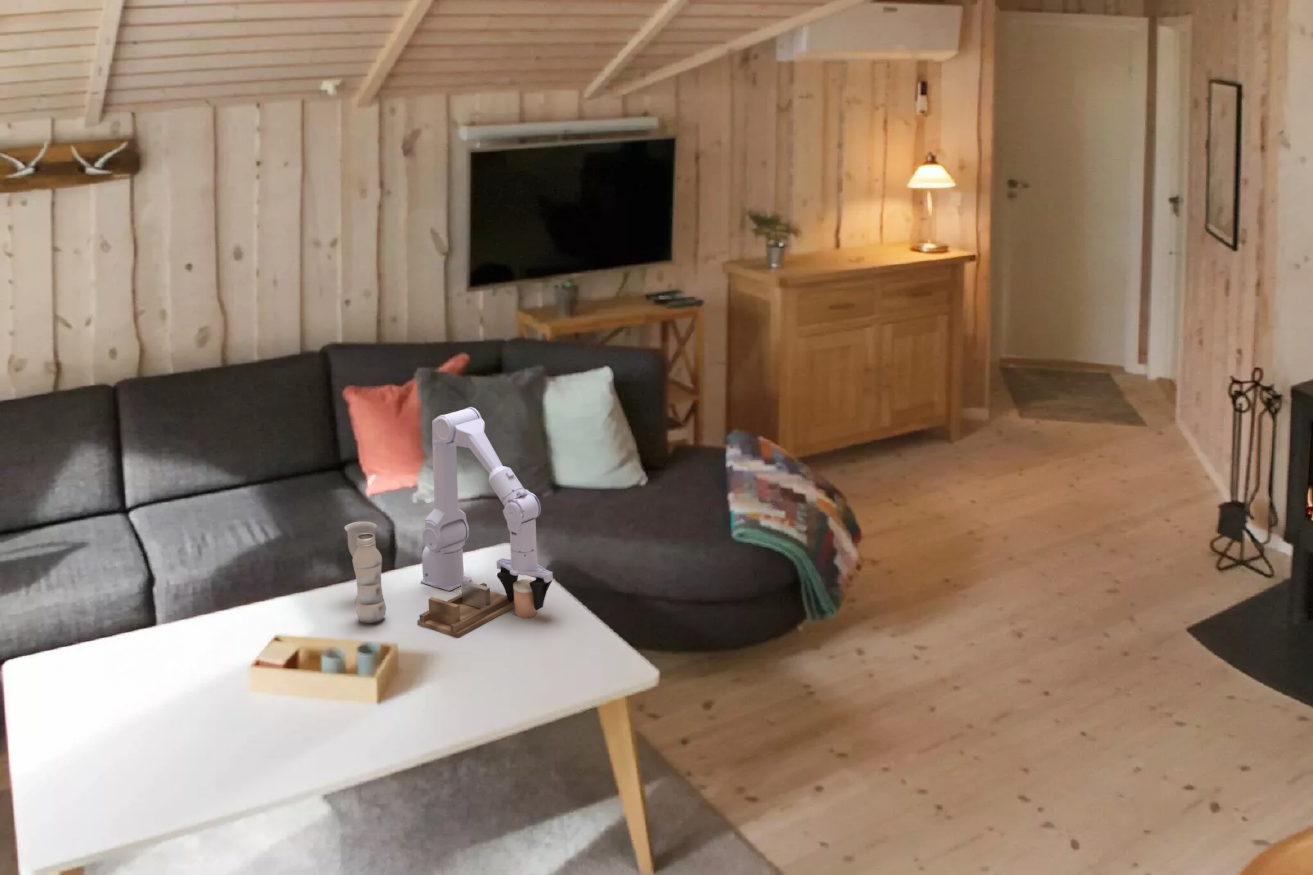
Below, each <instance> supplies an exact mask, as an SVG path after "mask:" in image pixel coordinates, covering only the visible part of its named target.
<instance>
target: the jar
mask: <svg viewBox="0 0 1313 875" xmlns="http://www.w3.org/2000/svg"><path fill="white" fill-rule="evenodd" d="M532 581H534V580H533V579H519V580H517V581H516V582H514V583H513V590H514V608H513V609H514V615H515V616H517V617H519V618H531V617H534V616H536V615H537V614H538V610H535V608H534V598H533V592H532V589H531V587H530V584H529V583H530V582H532Z"/></svg>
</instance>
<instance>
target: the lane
mask: <svg viewBox="0 0 1313 875" xmlns="http://www.w3.org/2000/svg"><path fill="white" fill-rule="evenodd" d="M479 585H483V586H486V587H488V584H487V583H484V582H481V583H480V584H479ZM427 600H428V610H426V611H424V612H422V613H420V614H419V619H417V621H416V622H417V625H418V626H421V627H424V628H427V629H429V630H433V631H437V632H440V633H441V634H445V635H448V636H452V637H454V638H458V639H459V638H461V637H463V636H464V635H466V634H468V633H469V632H471V631H474V630H475V629H477V628H479V627H480V626H483V625H484V624H487V623H488V622H490V621H491V620H494V619H495V618H497V617H499V616H501V615H503V614H504V613H506V612H508V611H510V610H512V609H515V608H514V601H512V602H509V601H508V598H507V595H505V594H503V593H498V592H495V591H492V590H490V602H491V604H490V605H488V606H486V607H484V608H482V609H480V608H477V607H473V606H470V605H467V604H464V603H462V593H460V594H458V595H456V596H455V597H453V598H450V599H449V600H444V599H440V598H438V597H434V596H431V597H429V598H428V599H427Z"/></svg>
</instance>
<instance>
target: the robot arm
mask: <svg viewBox="0 0 1313 875" xmlns="http://www.w3.org/2000/svg"><path fill="white" fill-rule="evenodd" d="M431 422H432V423H431V427H432V432H431V433H432V435H431V436H432V438H431V439H432V466H433V467H432V469H433V470H432V471H433V474H432V475H433V498H434V500H433V502H434V508H433V509H432V511H431V512H430V513H429V514H428V515H427V517H425V520H424V522H425V524H424V528H423V531H422V538H423V542H424V544H425V546H424V548H423V551H422V554H421V564H422V565H421V566H422V579H421V580H420V583H422V584H426V585H429V586H432V587H435V588H439V589H442V590H445V591H448V592H450V591H453V590H455V589H457V588H459V587H461V583H462V582H464V581H469V582H472V580H473V579H472V577H470V576H466V575H465V574H464V573H465V572H464V553H463V551H464V550H463V547H464V546H465V544H466V543H465V542H466V540H468V538H469V536H470V526H469V523H468V521H467V514H466V512H464V511H463V510H462V509H460V508H459V500H458V499H459V497H458V495H459V493H458V491H459V490H458V488H459V487H458V460H457V459H458V457H457V456H458V452H457V450H458V449H457V447H462V448H467V449H470V451H471V453H473V455H474V456H475V457H476V459H477V460H478V461H479V463H480V464H481V465H482V466H483V467H484V469H485V470H486V471H487V473H488V474H489V477H488V484H489V485H490V487H491V488H492V489H493V491H494V492H495V495H497V497H498V499H499V500H500V502H501V503H502V505H503V508H504V509H502V513H503V516H504V519H505V521H506V523H507V529H508V531H509V540H510V542H509V543H510V546H509V547H510V559H509V558H500V559H498V560H496V569H497V570H499V572H497V575H496V577H497V578H498V580H499V581H500V583H501V584H502V586H503V589H504V592H505V594H506V596H507V598H508V601H509V602H512V601H514V590H513V583H514V582H516V581H519V580H518V579H519V576H527V577H531V578H534V580H533V581H532V582H530V583H529V584H530V587H531V589H532V592H533V598H534V608H535V610H537V611H539V610H541V609H542V608H544V602H545V599H546V596H547V595H546V594H547V592H548V589H549V588H550V585H551V584H552V582H553V580H554V578H553V577H554V576H553V571H550V570H548V569H546V568H545V567H543V566H541V564H538V560H537V559H538V556H537V554H538V553H537V550H538V549H537V527H536V526H537V524H536V521H537V520H536V518H538V517H539V516H540V514H541V512H542V511H541V509H542V508H541V503H540V500H539V498H538V497H537V495H535V494H534V493H533V492H530V491H529V490H528V489H527V488H526V489H525V487H524V486H523V484H522V482H520V480H519V479H518V477H517V476H516V475H515V472H514V471H513V470H512V468H511V467H508V466H503V464H502V462H501V460H500V458H499V456H498V455H497V452H496V451H495V449H494V448H493V445H492V443H491V442H490V440H489V438H488V436H487V435H486V433H485V429H486V423H485V421H484V420H483V418H482V415H481V413H480V412H479V411H478V410H477V409H476V408H475V407H472V406H469V407H466V408H464V409H461V410H458V411H453V412H449V413H447V414H440V415H438V416H437V417H436V418H433V420H431Z"/></svg>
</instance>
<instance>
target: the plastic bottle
mask: <svg viewBox="0 0 1313 875" xmlns="http://www.w3.org/2000/svg"><path fill="white" fill-rule="evenodd" d="M375 541H376V540H375ZM375 541H374V535H373V534H370V533H365V534H361V535H359V536H358V537H357V546H359V547H358V549H357V550H356V552H355V554H354V556H353V557H352V565H353V571H354V574H355V581H356V586H357V593H356V594H357V595H356V596H357V603H356V607H355V608H356V610H355V611H356V616H357V618H358V620H359V621H360V622H362V623H365V624H373V623H377V622H380V621H382V620H383V619H384V617H385V616H386V612H387V605H386V602H385V599H384V594H383V593H384V592H383V589H382V588H383V587H382V567H383V556H382V554H381V552H380V551H379V549H377V546H376V547H375V546H374V544H375Z"/></svg>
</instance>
